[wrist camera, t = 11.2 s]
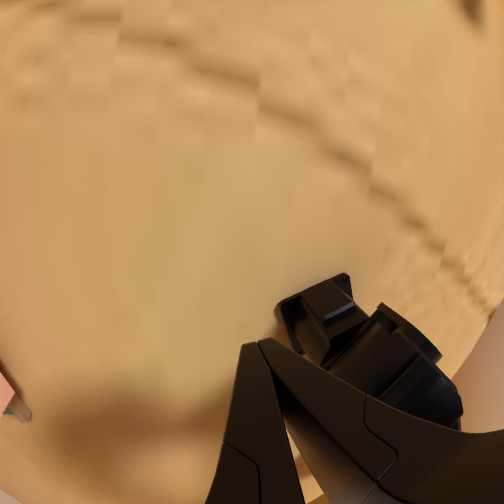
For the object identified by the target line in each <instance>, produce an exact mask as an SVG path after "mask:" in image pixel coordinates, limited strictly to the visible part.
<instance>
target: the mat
mask: <svg viewBox="0 0 504 504" xmlns="http://www.w3.org/2000/svg"><path fill="white" fill-rule="evenodd" d="M1 374H2V373H1ZM3 377H4V376H3ZM6 381H7V380H6ZM8 384H9V383H8ZM11 388H12V387H11ZM14 392H15V391H14ZM31 413H32V412H31V411H30V410H29V409H28V407H27V406H26V405H25V404H24V403H23V401H22V400H21V399H20V398H19V396H18V395H17V394H16V392H15V393H14V395H13V396H12V398H11V400H10V402H9V403H8V405H7V407H6V409H5V410H4V412H3V414H14V415H15V416H16V417H17V418H18V419H19V420H20V421H21V422H22V423H29V419H30V416H31Z"/></svg>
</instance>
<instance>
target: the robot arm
mask: <svg viewBox="0 0 504 504" xmlns="http://www.w3.org/2000/svg"><path fill="white" fill-rule="evenodd" d="M344 277H345V279H344V280H343V278H344ZM342 280H343V281H342ZM284 305H287V306H286V307H284ZM279 309H280V312H281V315H282V318H283V321H284V324H285V327H286V330H287V333H288V336H289V339H290V342H291V345H292V348H293V350H291V349H289V348H288V347H286V346H285V345H283V344H281V343H280V342H278V341H277V340H275V339H274V338H272V337H268V338H265V339H261V340H258V341H257V343H256V342H250V343H246V344H243V345H242V346H241V350H240V355H239V360H238V366H237V371H236V376H235V381H234V386H233V391H232V397H231V402H230V407H229V412H228V417H227V422H226V427H225V432H224V437H223V444H222V446H221V451H220V456H219V460H218V465H217V469H216V473H215V476H214V479H213V482H212V485H211V488H210V491H209V494H208V497H207V499H206V502H205V504H305V500H304V496H303V493H302V489H301V485H300V481H299V477H298V474H297V470H296V466H295V462H294V459H293V455H292V451H291V447H290V443H289V439H288V435H287V432H286V429H287V430H288V432H289V434H290V436H291V438H292V439H293V441H294V443H295V445H296V447H297V448H298V450H299V452H300V454H301V455H302V457H303V459H304V461H305V462H306V464H307V466H308V467H309V469H310V471H311V473H312V474H313V476H314V478H315V479H316V481H317V483H318V484H319V486H320V488H321V489H322V491H323V493H324V494H325V496H326V497H327V499H328V501H329V502H330V504H504V429H502V430H497V431H492V432H486V433H467V432H462V431H461V421H460V417H461V416H462V415H463V407H462V402H461V397H460V396H459V394H458V391H457V388H456V386H455V385H454V384H453V383H452V381H451V380H450V379H449V378H448V377H447V376H446V375H445V374H444V373H443V372H442V371H441V370H440V369H439V368H438V367H437V366H436V365H435V364H436V363H437V362H438V361H439V360H440V359H441V358H442V354H441V353H440V352H439V350H438V349H437V348H436V347H435V346H434V345H433V344H432V343H431V342H430V341H429V340H428V339H427V338H426V337H425V336H424V335H423V334H422V333H421V332H420V331H419V330H418V329H417V328H416V327H414V326H413V325H412V324H411V323H410V322H408V321H407V320H406V319H404V318H403V317H402V316H400V315H399V314H397V313H396V312H395V311H393V310H392V309H391V308H389V307H388V306H386V305H385V304H384V303H382V302H381V303H380V304H379V306H378V307H377V310H376V311H375V312H374V313H373V314H372V315H371V316H370V317H369V316H368V315H367V314H366V313H365V312H364V311H363V310H362V309H361V308H360V307H359V306H358V305H357V304H356V303H355V302H354V301H353V296H352V289H351V282H350V277H349V275H347V274H346V273H341V274H339V275H337V276H335V277H333V278H330V279H327V280H325V281H323V282H321V283H319V284H316V285H314V286H312V287H310V288H308V289H305V290H303V291H302V292H300V293H298V294H295V295H293V296H291V297H289V298H286V299H284V300H282V301H281V302H280V303H279ZM300 350H301V351H300ZM298 351H299V352H298ZM304 354H306V355H307V357H308V358H309V360H310V361H311V362H310V361H309V360H307V359H306V358H304V357H302V355H304ZM285 427H286V428H285Z"/></svg>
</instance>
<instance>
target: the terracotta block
mask: <svg viewBox="0 0 504 504" xmlns="http://www.w3.org/2000/svg"><path fill="white" fill-rule="evenodd" d="M14 393H15V392H14V390H13V389H12V388H11V386H10V385H9V384H8V382H7V381H6V379H5V378H4V377H3V375H2V374H1V372H0V418H1V416H2V414H3V412H4V410H5V409H6V407H7V405H8V403H9V402H10V400H11V398H12V396H13V395H14Z"/></svg>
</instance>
